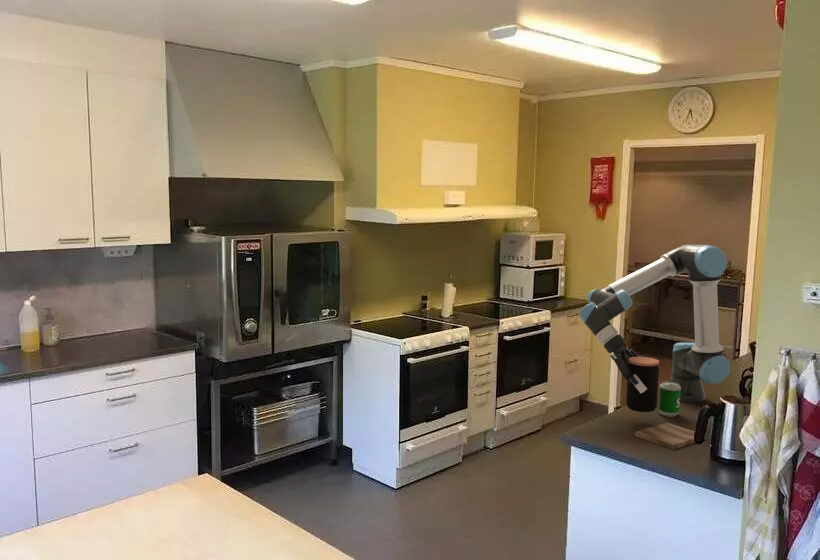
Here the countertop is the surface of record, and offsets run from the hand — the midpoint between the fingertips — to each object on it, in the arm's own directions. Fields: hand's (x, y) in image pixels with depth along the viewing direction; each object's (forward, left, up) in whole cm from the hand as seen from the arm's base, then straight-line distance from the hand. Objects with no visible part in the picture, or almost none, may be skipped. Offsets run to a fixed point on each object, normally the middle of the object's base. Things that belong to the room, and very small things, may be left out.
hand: (650, 388), depth 242 cm
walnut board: (+5, +12, -14) cm, 19 cm away
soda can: (-18, -4, -14) cm, 23 cm away
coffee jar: (+1, -3, -8) cm, 9 cm away
